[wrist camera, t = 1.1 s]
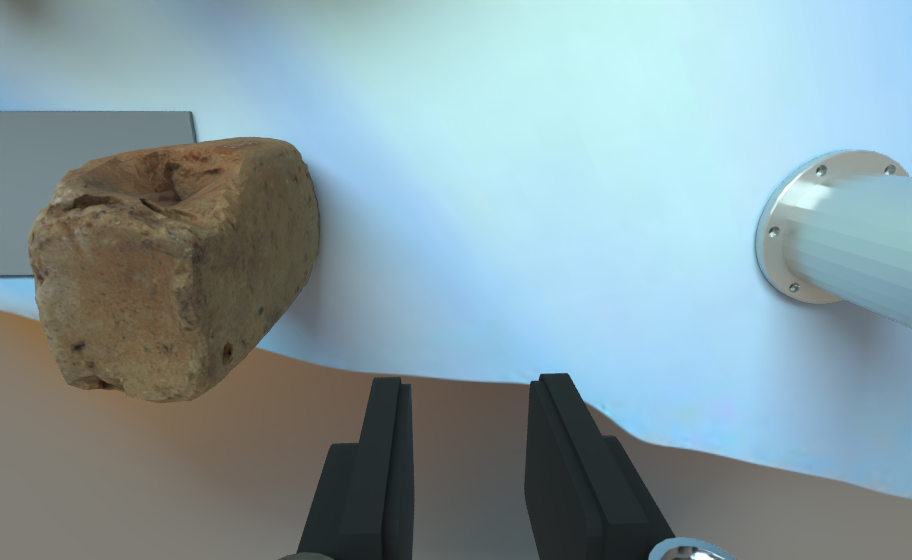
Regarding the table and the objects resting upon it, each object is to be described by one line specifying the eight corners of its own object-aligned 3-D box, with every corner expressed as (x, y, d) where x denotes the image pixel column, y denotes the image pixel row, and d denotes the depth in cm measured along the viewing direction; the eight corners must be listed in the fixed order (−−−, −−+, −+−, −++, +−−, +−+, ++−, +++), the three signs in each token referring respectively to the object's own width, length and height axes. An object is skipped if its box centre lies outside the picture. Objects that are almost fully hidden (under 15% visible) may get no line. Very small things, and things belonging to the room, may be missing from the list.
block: (322, 278, 39) (218, 425, 20) (227, 271, 38) (27, 416, 19) (323, 139, 36) (199, 158, 17) (218, 129, 35) (-32, 138, 16)
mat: (191, 111, 35) (188, 111, 34) (216, 270, 38) (214, 272, 38) (-71, 111, 34) (-77, 111, 33) (-19, 273, 38) (-24, 275, 37)
